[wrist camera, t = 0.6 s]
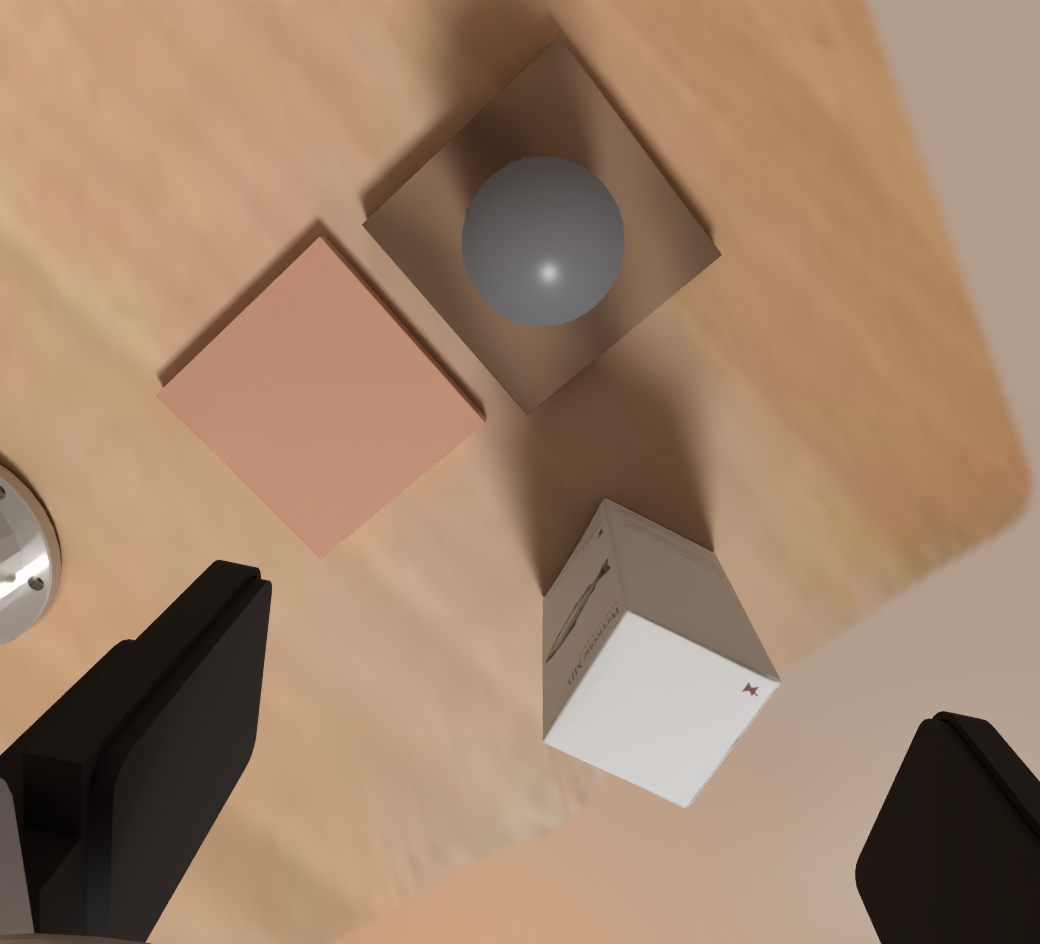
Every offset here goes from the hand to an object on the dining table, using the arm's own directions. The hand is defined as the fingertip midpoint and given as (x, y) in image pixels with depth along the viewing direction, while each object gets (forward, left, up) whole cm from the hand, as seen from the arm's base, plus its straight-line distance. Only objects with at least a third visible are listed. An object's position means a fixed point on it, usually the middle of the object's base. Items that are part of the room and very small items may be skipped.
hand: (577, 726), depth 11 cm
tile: (-10, +6, -30) cm, 32 cm away
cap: (+4, +5, -25) cm, 26 cm away
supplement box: (-4, -12, -30) cm, 32 cm away
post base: (+4, +5, -30) cm, 30 cm away
